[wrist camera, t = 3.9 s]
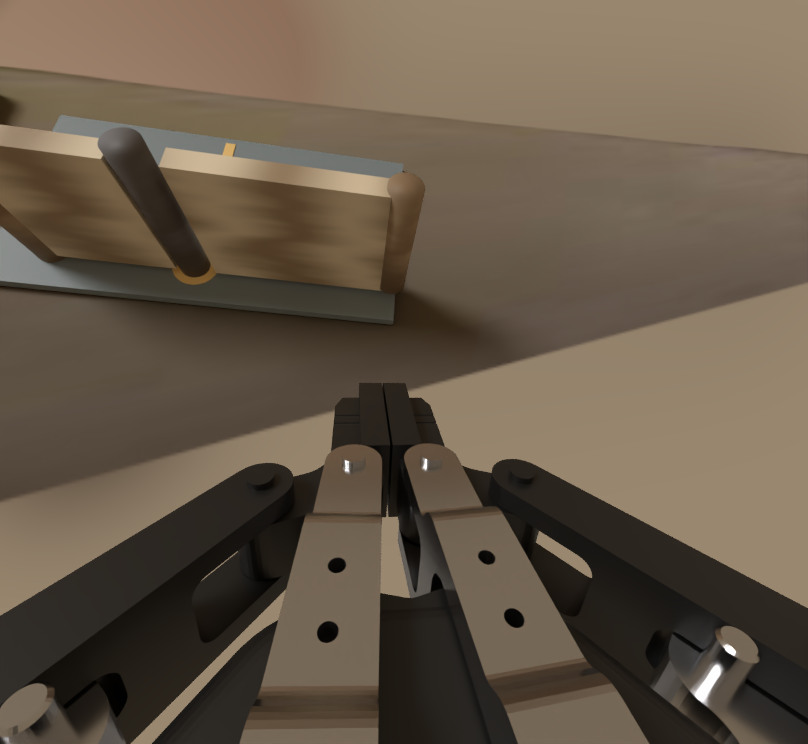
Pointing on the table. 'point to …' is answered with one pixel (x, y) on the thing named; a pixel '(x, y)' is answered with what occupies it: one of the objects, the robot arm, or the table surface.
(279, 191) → the hinged fence panel
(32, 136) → the fixed fence section
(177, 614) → the robot arm
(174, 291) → the board
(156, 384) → the table surface
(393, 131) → the table surface
